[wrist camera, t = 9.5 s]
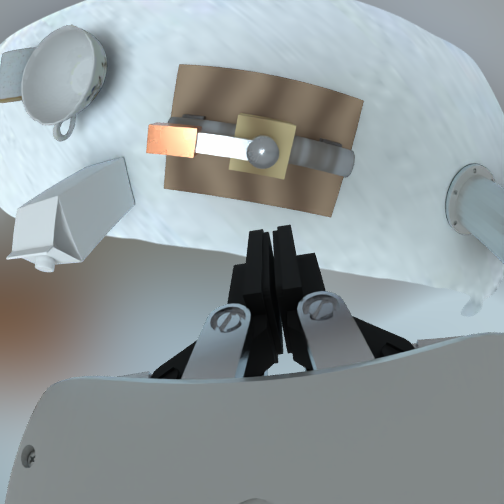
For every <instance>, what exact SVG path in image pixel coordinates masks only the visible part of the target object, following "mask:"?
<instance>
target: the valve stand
mask: <svg viewBox="0 0 504 504" xmlns="http://www.w3.org/2000/svg"><path fill="white" fill-rule="evenodd" d="M363 102H364V101H363V100H360V99H358V98H355V97H352V96H349V95H346V94H343V93H340V92H336V91H333V90H330V89H327V88H323V87H320V86H316V85H312V84H308V83H305V82H301V81H296V80H292V79H288V78H283V77H279V76H274V75H268V74H263V73H257V72H251V71H245V70H238V69H230V68H222V67H212V66H200V65H183V64H179V68H178V74H177V79H176V85H175V92H174V98H173V105H172V112H171V118H170V119H169V121H168V123H171V124H182V125H192V126H201V127H202V131H201V132H209V133H217V134H224V135H231V136H237V137H243V138H249V139H252V138H254V137H256V136H259V135H266V136H269V137H271V138H272V139H273V140H274V141H275V142H276V144H277V146H278V148H279V158H278V160H277V162H276V163H275V164H274V165H273V166H271V167H269V168H266V169H259V168H256V167H254V166H253V165H252V164H250V162H249V161H248V160H243V159H237V158H231V157H224V156H218V155H210V154H203V153H198V154H197V155H196V156H195V157H194V158H190V157H181V156H172V155H167V156H166V167H165V180H164V189H171V190H178V191H185V192H192V193H199V194H206V195H213V196H219V197H225V198H231V199H237V200H243V201H249V202H255V203H261V204H266V205H272V206H277V207H282V208H287V209H293V210H298V211H303V212H308V213H313V214H317V215H322V216H327V217H331V216H332V213H333V209H334V206H335V203H336V200H337V197H338V194H339V190H340V187H341V184H342V180H343V177H348V176H349V175H350V174H351V172H352V169H353V166H354V160H355V156H354V152H353V151H352V150H351V149H352V145H353V141H354V138H355V134H356V130H357V126H358V122H359V118H360V114H361V110H362V106H363Z"/></svg>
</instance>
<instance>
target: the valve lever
mask: <svg viewBox="0 0 504 504" xmlns="http://www.w3.org/2000/svg"><path fill="white" fill-rule="evenodd" d="M201 131H202V127H201V126H192V125H182V124H171V123H154V124H150V125H149V128H148V138H147V150H146V153H152V154H163V155H172V156H181V157H190V158H194V157H195V156H196V155H197V154H198V153H203V154H210V155H218V156H224V157H231V158H237V159H243V160H248V161H249V162H250V164H252V165H253V166H254V167H256V168H259V169H266V168H269V167H271V166H273V165H274V164H275V163H276V162H277V160H278V158H279V148H278V146H277V144H276V142H275V141H274V140H273V139H272V138H271V137H269V136H266V135H259V136H256V137H254V138H252V139H249V138H243V137H237V136H231V135H224V134H217V133H209V132H201Z"/></svg>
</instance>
